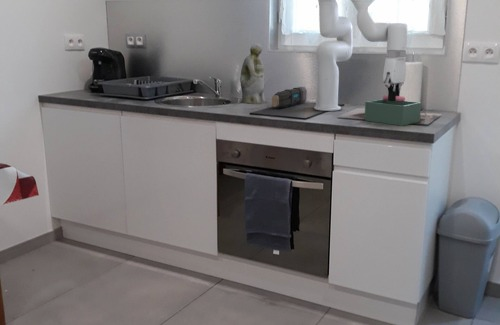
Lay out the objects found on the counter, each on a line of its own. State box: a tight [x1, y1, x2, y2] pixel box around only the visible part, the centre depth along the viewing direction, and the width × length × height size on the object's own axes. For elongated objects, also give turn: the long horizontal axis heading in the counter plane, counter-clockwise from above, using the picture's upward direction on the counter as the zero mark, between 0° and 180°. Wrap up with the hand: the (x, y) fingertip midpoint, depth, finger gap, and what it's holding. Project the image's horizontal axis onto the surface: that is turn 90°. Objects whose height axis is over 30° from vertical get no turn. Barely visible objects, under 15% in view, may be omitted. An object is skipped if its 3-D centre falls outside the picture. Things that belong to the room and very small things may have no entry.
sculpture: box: [239, 42, 266, 105], centre depth 271 cm, size 11×14×30 cm
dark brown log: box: [271, 86, 308, 109], centre depth 258 cm, size 11×7×30 cm
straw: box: [382, 94, 406, 102], centre depth 214 cm, size 10×2×2 cm, turn 44°
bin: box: [364, 98, 422, 127], centre depth 215 cm, size 18×14×8 cm
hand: (393, 100), depth 214 cm, fingers closed on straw, 2 cm apart
